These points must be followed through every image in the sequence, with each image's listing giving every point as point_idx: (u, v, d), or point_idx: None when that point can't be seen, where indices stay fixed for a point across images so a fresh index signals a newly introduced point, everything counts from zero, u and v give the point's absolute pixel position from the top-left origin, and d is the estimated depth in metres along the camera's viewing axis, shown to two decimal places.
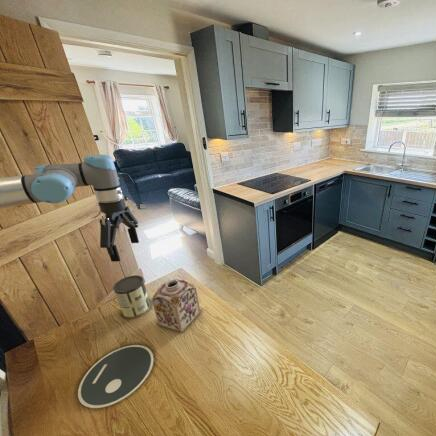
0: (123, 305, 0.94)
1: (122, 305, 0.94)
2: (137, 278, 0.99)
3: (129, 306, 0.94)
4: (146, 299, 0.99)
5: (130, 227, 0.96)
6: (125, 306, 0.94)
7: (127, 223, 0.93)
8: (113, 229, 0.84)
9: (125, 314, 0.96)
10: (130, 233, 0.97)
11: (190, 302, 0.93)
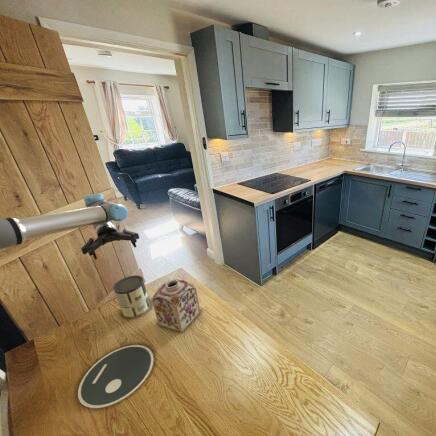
0: (123, 305, 0.94)
1: (122, 305, 0.94)
2: (137, 278, 0.99)
3: (129, 306, 0.94)
4: (146, 299, 0.99)
5: None
6: (125, 306, 0.94)
7: (98, 245, 1.01)
8: None
9: (125, 314, 0.96)
10: (94, 250, 0.96)
11: (190, 302, 0.93)
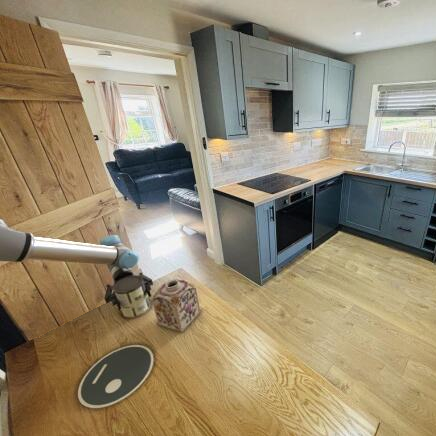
0: (123, 305, 0.94)
1: (122, 305, 0.94)
2: (137, 278, 0.99)
3: (129, 306, 0.94)
4: (146, 299, 0.99)
5: None
6: (125, 306, 0.94)
7: None
8: None
9: (125, 314, 0.96)
10: (117, 299, 0.95)
11: (190, 302, 0.93)
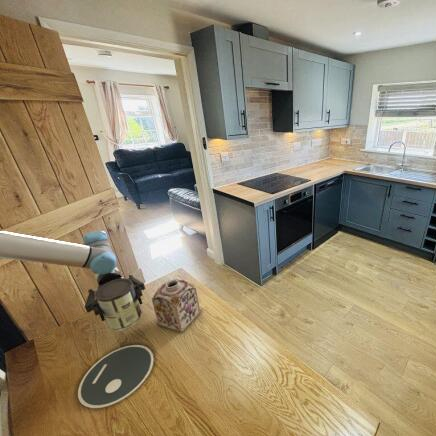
0: (108, 315, 0.77)
1: (106, 315, 0.77)
2: (126, 282, 0.82)
3: (115, 316, 0.77)
4: (136, 307, 0.83)
5: None
6: (110, 317, 0.77)
7: None
8: None
9: (110, 326, 0.79)
10: (100, 307, 0.78)
11: (190, 302, 0.93)
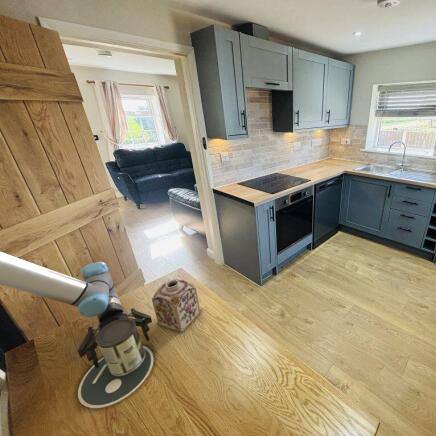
0: (109, 360, 0.72)
1: (108, 360, 0.72)
2: (128, 322, 0.77)
3: (116, 361, 0.73)
4: (139, 349, 0.78)
5: None
6: (111, 362, 0.72)
7: None
8: None
9: (112, 370, 0.74)
10: (94, 351, 0.73)
11: (190, 302, 0.93)
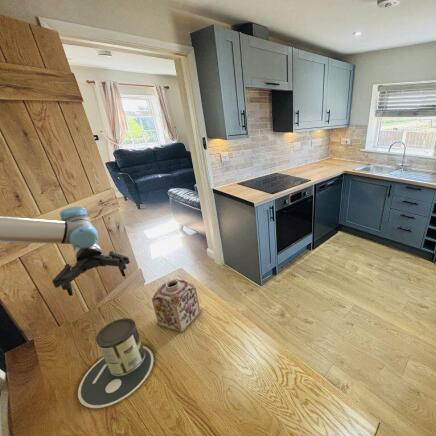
0: (109, 360, 0.72)
1: (108, 360, 0.72)
2: (128, 322, 0.77)
3: (116, 361, 0.73)
4: (139, 349, 0.78)
5: None
6: (111, 362, 0.72)
7: (75, 274, 0.78)
8: None
9: (112, 370, 0.74)
10: (69, 282, 0.74)
11: (190, 302, 0.93)
